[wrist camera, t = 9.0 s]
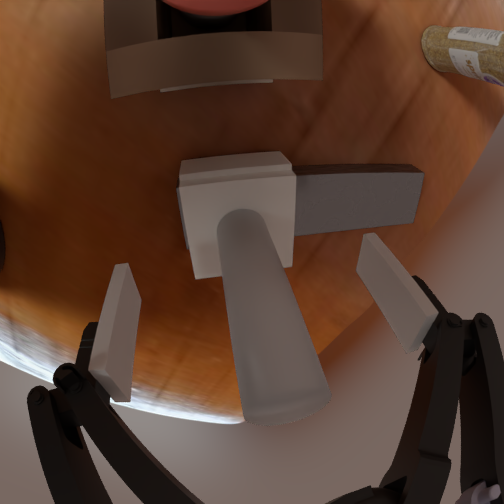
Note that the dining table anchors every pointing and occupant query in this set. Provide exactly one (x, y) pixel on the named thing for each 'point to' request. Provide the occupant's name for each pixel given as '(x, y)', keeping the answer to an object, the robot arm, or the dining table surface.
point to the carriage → (255, 278)
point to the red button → (212, 11)
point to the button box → (210, 46)
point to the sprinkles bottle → (466, 52)
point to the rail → (351, 197)
